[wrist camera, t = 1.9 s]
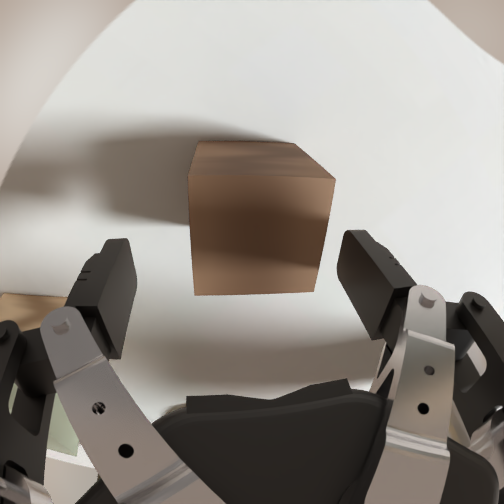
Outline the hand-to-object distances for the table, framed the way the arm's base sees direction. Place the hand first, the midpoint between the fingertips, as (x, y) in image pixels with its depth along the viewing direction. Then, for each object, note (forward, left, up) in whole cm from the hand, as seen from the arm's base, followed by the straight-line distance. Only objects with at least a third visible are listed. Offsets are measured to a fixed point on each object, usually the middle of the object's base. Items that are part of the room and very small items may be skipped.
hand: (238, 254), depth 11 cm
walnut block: (-1, 0, -6) cm, 6 cm away
